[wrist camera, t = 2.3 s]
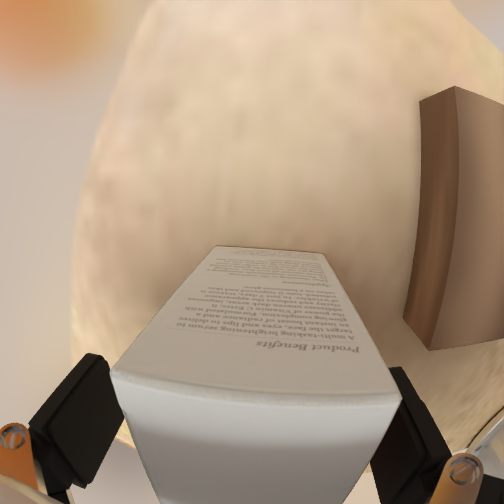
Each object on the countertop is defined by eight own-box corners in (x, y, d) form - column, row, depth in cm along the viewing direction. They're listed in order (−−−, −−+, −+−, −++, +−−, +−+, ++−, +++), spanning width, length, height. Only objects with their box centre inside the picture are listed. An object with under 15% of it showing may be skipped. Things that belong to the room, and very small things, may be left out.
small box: (305, 378, 16) (319, 538, 6) (213, 371, 17) (165, 525, 6) (326, 249, 14) (414, 397, 4) (213, 241, 15) (100, 373, 4)
